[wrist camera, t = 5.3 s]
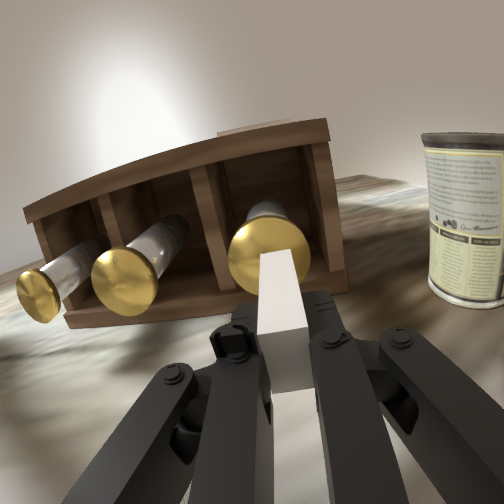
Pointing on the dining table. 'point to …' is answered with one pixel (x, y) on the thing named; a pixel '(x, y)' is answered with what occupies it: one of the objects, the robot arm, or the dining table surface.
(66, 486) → the dining table surface
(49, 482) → the dining table surface
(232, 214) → the box
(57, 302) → the button
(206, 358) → the dining table surface
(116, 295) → the button
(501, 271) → the coffee can
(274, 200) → the button
